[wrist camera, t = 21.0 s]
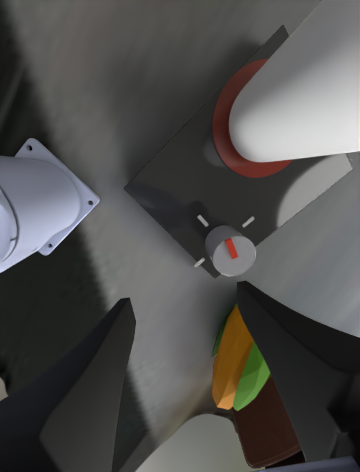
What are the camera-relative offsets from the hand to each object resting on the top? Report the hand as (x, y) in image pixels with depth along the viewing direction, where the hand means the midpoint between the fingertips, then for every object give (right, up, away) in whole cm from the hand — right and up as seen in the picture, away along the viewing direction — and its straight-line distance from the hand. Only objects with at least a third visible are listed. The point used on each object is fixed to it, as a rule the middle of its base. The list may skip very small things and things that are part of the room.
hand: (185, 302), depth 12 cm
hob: (+5, +11, +8) cm, 14 cm away
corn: (+8, -11, +16) cm, 21 cm away
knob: (+4, +4, +7) cm, 9 cm away
